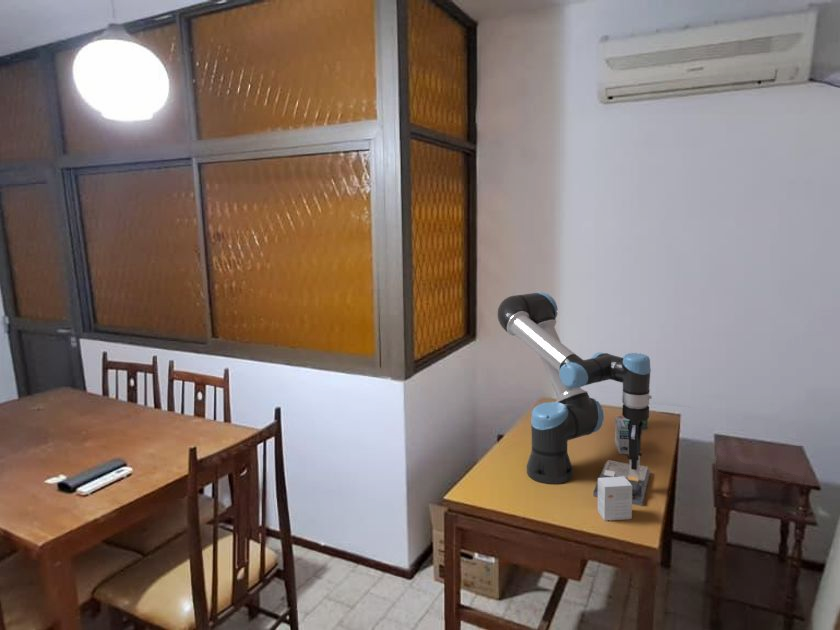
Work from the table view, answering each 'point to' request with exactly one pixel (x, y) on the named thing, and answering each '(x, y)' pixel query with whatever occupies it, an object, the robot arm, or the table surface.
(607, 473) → the block
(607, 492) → the small box
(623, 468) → the panel
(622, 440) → the light bulb box
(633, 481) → the block
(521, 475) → the table surface
